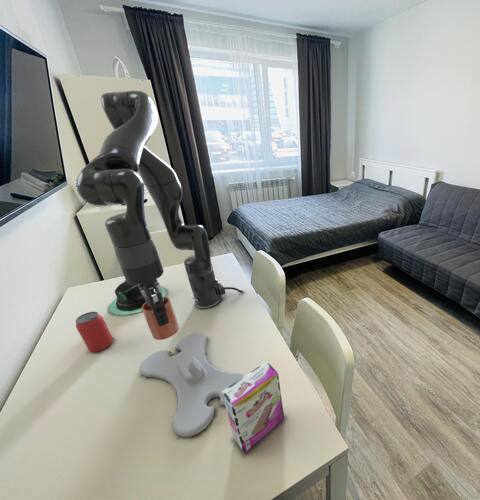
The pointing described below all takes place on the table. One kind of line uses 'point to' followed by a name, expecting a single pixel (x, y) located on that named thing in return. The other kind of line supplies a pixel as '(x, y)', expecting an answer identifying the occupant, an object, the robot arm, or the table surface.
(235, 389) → the candy bar box
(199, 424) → the holder
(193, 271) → the robot arm
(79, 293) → the table surface
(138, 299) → the black and green hat
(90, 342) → the beer can
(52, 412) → the table surface
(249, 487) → the table surface
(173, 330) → the cup
